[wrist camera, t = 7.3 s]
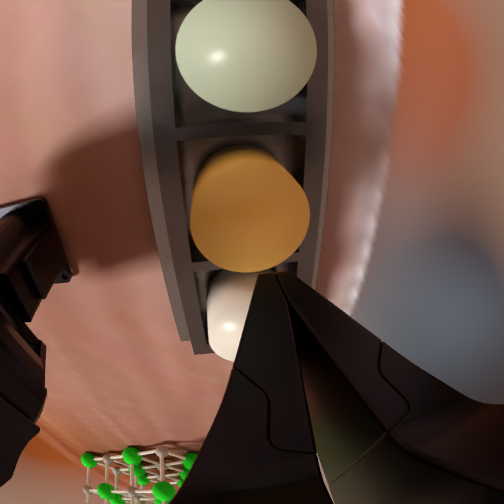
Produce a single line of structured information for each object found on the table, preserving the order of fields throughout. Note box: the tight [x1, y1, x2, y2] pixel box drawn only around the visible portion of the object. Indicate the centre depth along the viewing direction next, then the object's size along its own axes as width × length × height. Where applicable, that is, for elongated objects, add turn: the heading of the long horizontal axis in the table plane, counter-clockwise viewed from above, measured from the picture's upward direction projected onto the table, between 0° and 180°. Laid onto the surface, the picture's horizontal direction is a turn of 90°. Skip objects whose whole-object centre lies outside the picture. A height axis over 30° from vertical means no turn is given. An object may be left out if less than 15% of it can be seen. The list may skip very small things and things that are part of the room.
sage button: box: [175, 0, 317, 112], centre depth 10 cm, size 5×5×4 cm
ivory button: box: [206, 268, 275, 362], centre depth 17 cm, size 5×5×4 cm
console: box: [132, 0, 334, 355], centre depth 15 cm, size 10×23×3 cm, turn 1°
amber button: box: [190, 145, 310, 273], centre depth 13 cm, size 5×5×4 cm
